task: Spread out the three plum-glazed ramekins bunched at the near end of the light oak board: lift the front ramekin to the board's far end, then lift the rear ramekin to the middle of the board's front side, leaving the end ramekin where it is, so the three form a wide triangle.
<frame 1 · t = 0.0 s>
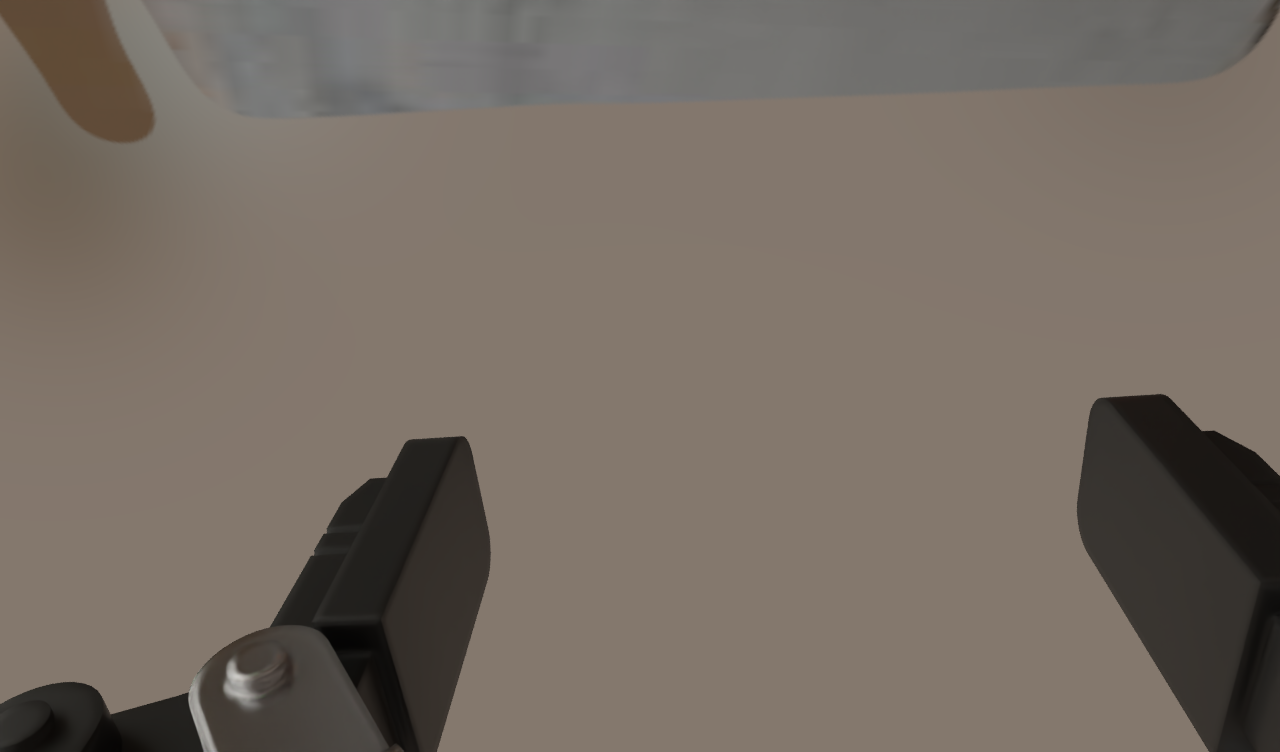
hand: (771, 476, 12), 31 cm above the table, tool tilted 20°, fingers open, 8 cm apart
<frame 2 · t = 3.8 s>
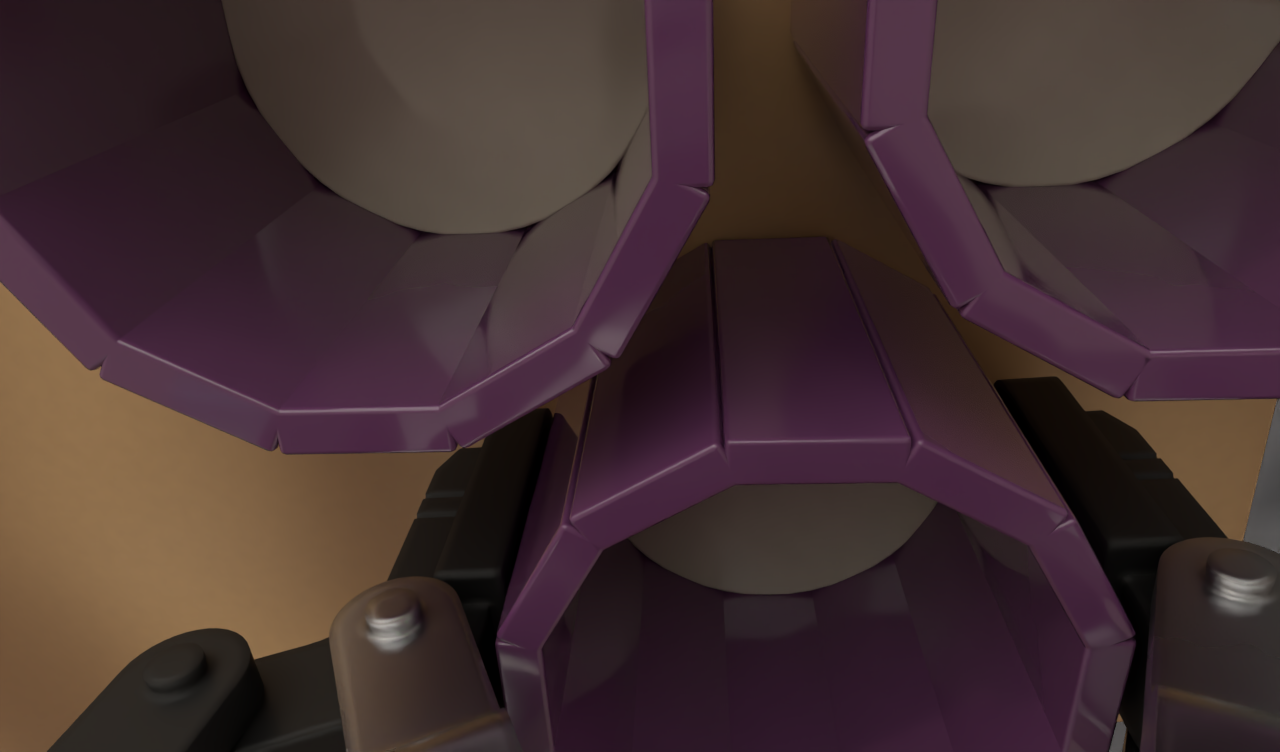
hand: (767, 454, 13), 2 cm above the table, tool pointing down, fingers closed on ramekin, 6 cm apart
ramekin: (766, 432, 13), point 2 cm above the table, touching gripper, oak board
oak board: (403, 229, 14), on the table
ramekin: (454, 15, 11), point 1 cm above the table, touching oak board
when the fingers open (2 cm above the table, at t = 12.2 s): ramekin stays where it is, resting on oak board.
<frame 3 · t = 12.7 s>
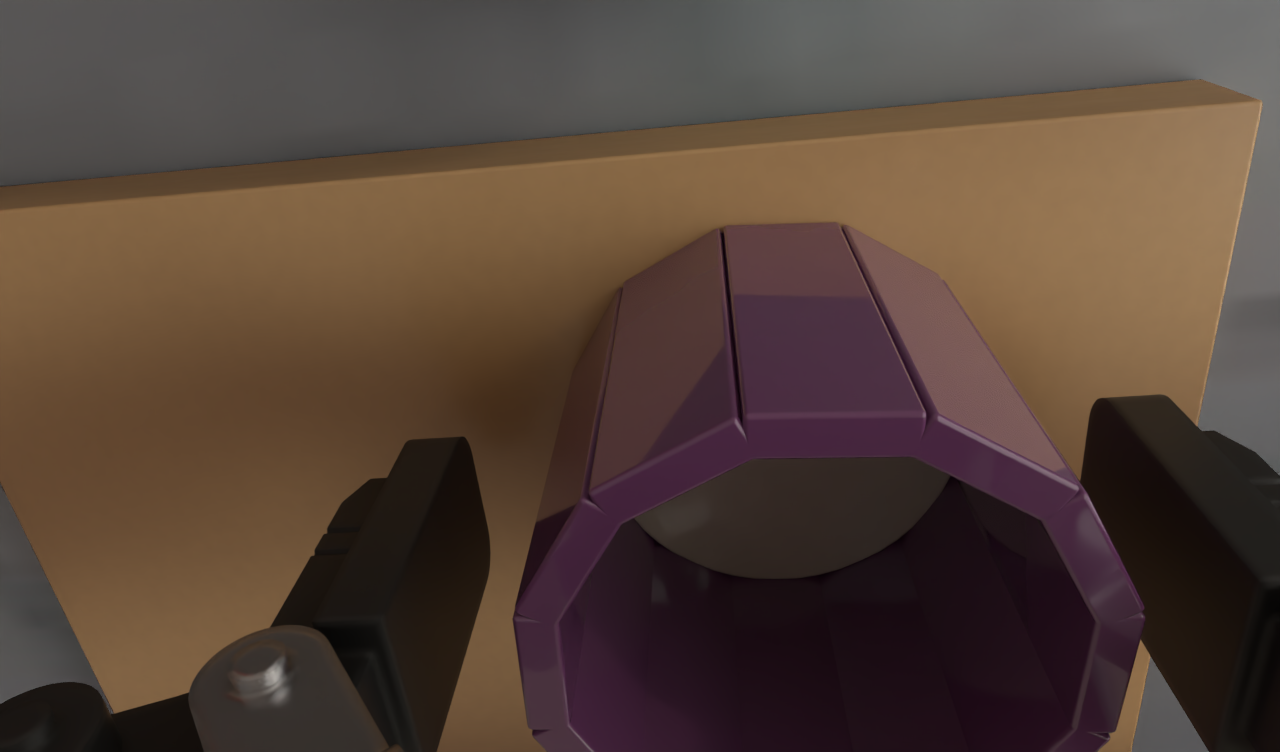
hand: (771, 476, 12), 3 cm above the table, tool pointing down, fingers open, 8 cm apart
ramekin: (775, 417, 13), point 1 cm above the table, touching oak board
oak board: (626, 738, 19), on the table
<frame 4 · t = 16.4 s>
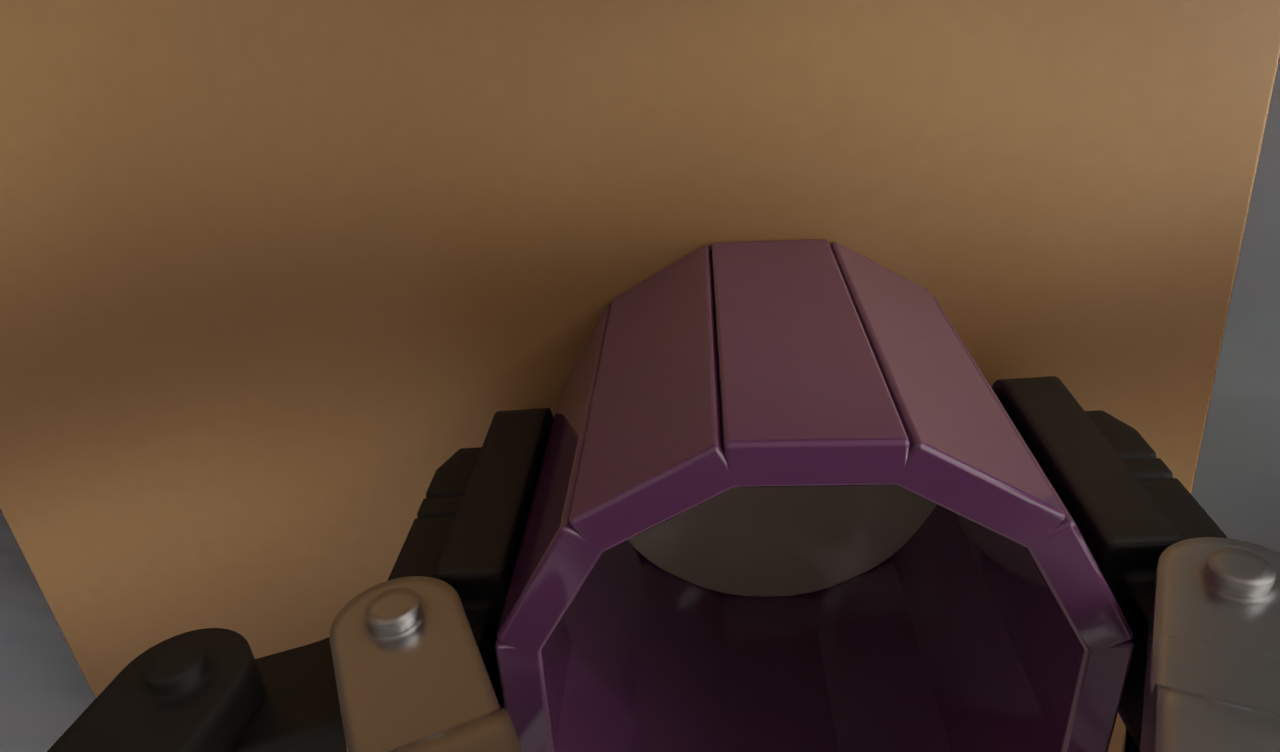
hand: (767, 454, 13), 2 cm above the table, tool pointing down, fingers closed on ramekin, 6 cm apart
oak board: (558, 299, 14), on the table
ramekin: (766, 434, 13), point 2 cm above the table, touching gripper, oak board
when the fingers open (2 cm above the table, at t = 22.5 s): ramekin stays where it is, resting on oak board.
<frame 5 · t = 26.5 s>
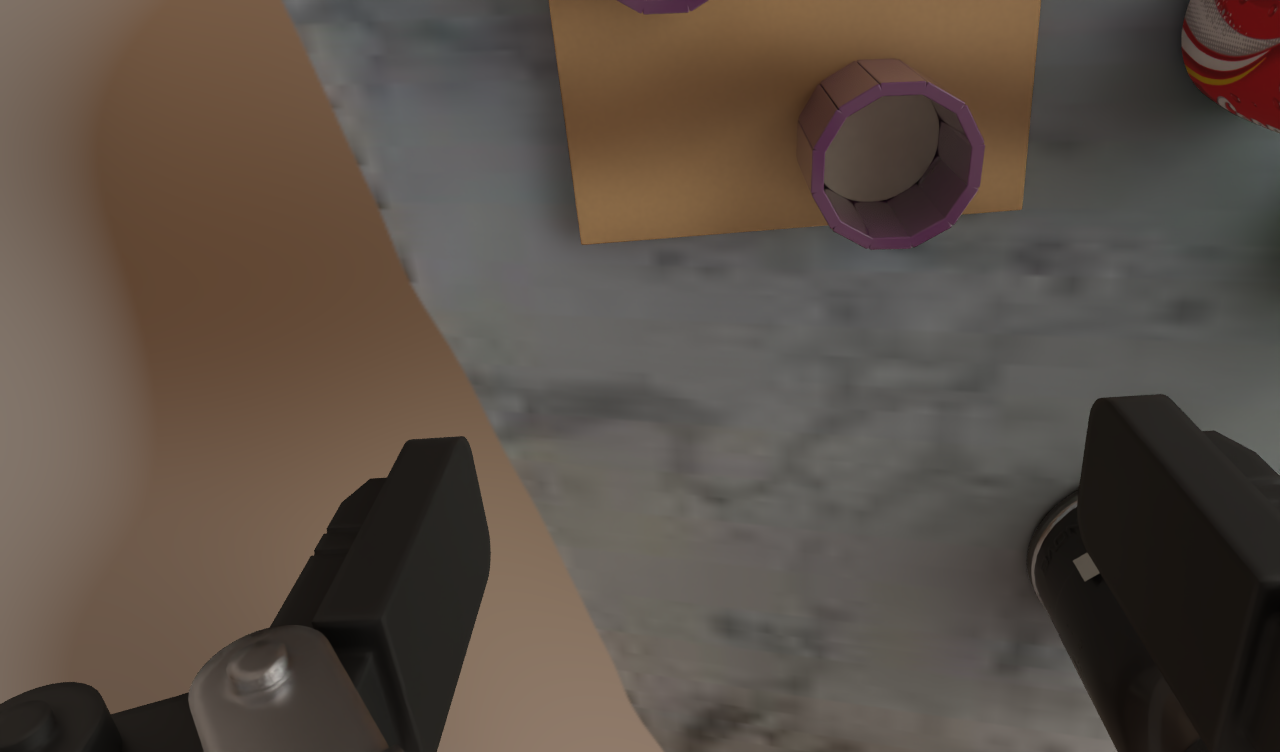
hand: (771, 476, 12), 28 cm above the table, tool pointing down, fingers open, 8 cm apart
end ramekin: (871, 136, 36), point 1 cm above the table, touching oak board
soda can: (1262, 14, 35), on the table
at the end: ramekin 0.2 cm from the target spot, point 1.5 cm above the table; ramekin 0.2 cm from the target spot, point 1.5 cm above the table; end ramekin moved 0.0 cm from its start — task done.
